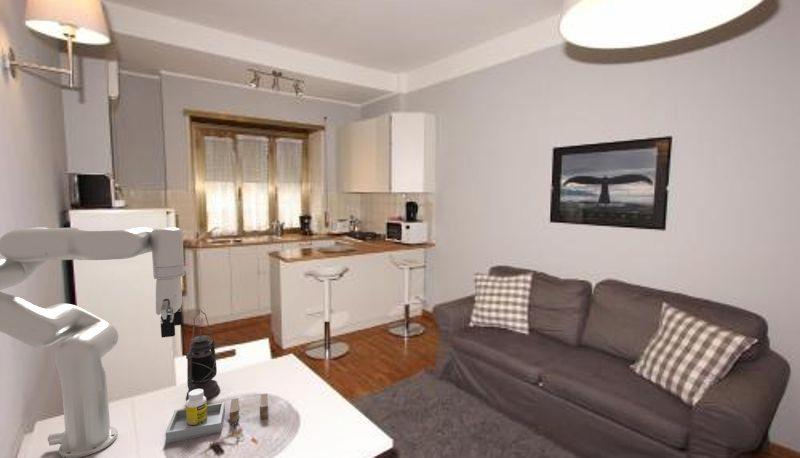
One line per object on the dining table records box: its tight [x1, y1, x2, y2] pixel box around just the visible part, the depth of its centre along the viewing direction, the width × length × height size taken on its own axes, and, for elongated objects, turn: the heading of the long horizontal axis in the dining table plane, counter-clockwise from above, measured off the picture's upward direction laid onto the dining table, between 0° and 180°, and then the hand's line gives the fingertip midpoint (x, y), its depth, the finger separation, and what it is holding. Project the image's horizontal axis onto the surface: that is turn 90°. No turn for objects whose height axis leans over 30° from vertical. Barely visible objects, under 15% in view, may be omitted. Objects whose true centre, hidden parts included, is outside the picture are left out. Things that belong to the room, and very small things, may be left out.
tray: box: [164, 401, 226, 444], centre depth 114 cm, size 14×12×3 cm
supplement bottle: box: [185, 389, 208, 427], centre depth 114 cm, size 5×5×10 cm
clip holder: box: [228, 393, 269, 426], centre depth 120 cm, size 11×8×4 cm
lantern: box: [185, 309, 221, 401], centre depth 131 cm, size 12×11×30 cm
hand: (172, 330), depth 109 cm, fingers open, 9 cm apart
